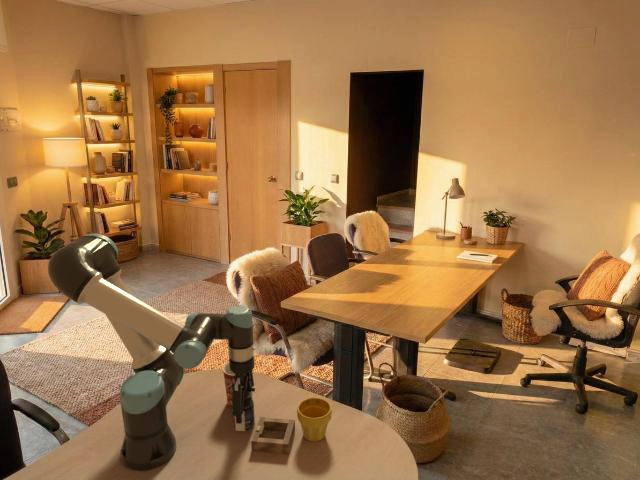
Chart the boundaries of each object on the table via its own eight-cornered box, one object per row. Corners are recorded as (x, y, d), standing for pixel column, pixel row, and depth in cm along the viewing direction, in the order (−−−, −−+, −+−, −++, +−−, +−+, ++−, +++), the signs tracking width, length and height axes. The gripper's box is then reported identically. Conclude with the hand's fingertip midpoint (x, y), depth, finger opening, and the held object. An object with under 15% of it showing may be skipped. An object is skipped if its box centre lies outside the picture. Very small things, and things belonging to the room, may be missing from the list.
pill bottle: (257, 427, 153) (256, 397, 150) (239, 434, 150) (238, 403, 147) (249, 416, 158) (248, 387, 155) (232, 423, 155) (230, 393, 152)
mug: (249, 411, 161) (248, 375, 157) (222, 410, 161) (220, 374, 157) (255, 388, 173) (253, 354, 169) (229, 388, 173) (227, 354, 169)
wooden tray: (251, 451, 143) (251, 440, 142) (260, 426, 153) (260, 416, 152) (288, 454, 142) (288, 443, 140) (295, 429, 152) (294, 419, 151)
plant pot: (327, 448, 144) (328, 420, 141) (293, 443, 146) (293, 415, 143) (333, 425, 154) (334, 399, 151) (302, 421, 156) (301, 395, 153)
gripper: (243, 377, 136) (247, 444, 142) (262, 339, 157) (264, 400, 163) (217, 375, 137) (222, 442, 143) (239, 338, 157) (242, 398, 164)
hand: (244, 419), depth 153 cm, fingers open, 9 cm apart
